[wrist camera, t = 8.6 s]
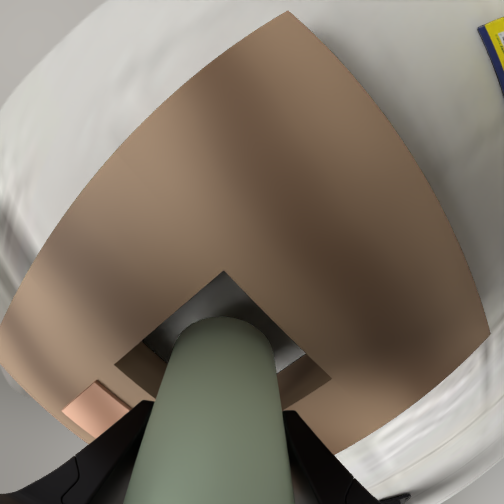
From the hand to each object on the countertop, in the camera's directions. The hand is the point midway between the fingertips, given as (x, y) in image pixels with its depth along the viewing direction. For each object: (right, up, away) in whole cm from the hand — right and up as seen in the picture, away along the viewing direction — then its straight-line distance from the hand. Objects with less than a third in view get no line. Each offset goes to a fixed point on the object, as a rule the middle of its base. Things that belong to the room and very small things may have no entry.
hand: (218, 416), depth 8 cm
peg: (0, +1, +3) cm, 3 cm away
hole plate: (0, +1, +4) cm, 4 cm away
